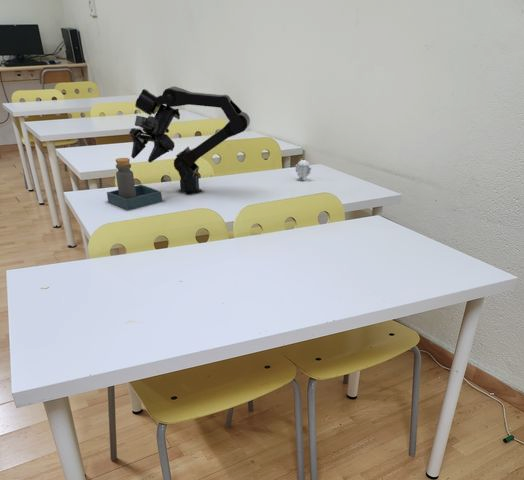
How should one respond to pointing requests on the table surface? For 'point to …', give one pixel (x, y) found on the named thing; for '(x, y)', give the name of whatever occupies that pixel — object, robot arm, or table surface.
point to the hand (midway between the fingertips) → (140, 159)
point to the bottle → (125, 179)
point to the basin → (135, 198)
